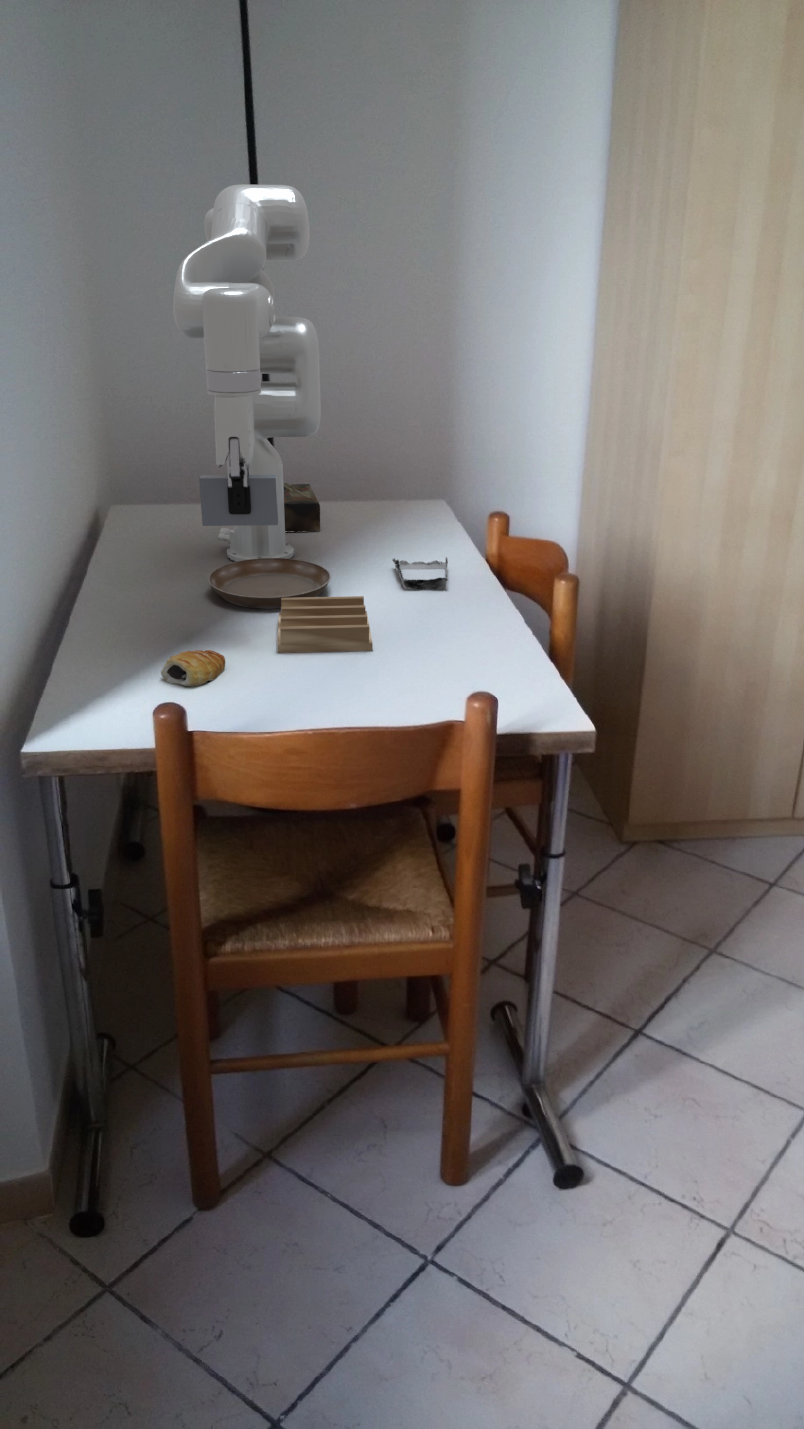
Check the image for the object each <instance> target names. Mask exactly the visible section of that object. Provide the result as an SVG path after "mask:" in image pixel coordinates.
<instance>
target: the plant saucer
mask: <svg viewBox="0 0 804 1429" xmlns="http://www.w3.org/2000/svg"><path fill="white" fill-rule="evenodd" d="M331 576H332V574H331V573H330V572H329V569H327V568H326V567H323V566H322V565H320V564H318V563H314V562H311V561H306V560H301V559H297V558H296V559H295V558H289V559H288V558H258V559H249V560H242V561H237V562H236V561H234V562H230V563H226V564H224V565H222V566H219V567H217V568H216V569H214V570H213V571H212V572H211V573H210V574H209V575H208V578H207V579H208V580H207V581H208V583H209V585H210V586H211V588H212V589H213V590H214V591H215V592H216V593H217V595H219V596H220V597H222V598H223V599H224V600H225V601H227V602H229V603H231V604H234V605H235V606H241V607H245V608H251V609H281V598H299V597H319V596H320V595H321V593H322V592H323V591H324V590H325V589H326V587H328V584H329V583H330V581H331V578H332V577H331Z"/></svg>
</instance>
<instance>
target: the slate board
mask: <svg viewBox="0 0 804 1429" xmlns="http://www.w3.org/2000/svg"><path fill="white" fill-rule="evenodd" d="M247 477H248V486H250V499H251V513H250V514H230V513H229V507H228V489H227V487H228V474H226V475H225V474H222V475H221V474H219V475H217V474H215V475H214V474H201V475H200V476H199V478H198V479H199V481H198V482H199V483H198V484H199V493H200V494H199V495H200V508H201V521H202V522H201V523H202V527H208V526H209V527H212V526H213V527H216V526H217V527H218V526H220V527H223V526H225V527H227V526H228V527H229V526H232V527H234V526H247V525H278V503H277V479H276V475H247Z"/></svg>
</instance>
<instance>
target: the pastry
mask: <svg viewBox="0 0 804 1429" xmlns="http://www.w3.org/2000/svg"><path fill="white" fill-rule="evenodd" d="M225 668H226V658H225V656H224V655H223V654H220V653H219V652H216V651H215V650H212V649H205V650H201V649H199V650H186V651H180V652H179V654H174V655H171V656H170V658H169V659H168V660H167V661H166V662H165V664H164V665H163V667H162V670H160V674H161V677H162V678H163V679H164V681H165V682H167V683H170V684H174V685H180V686H181V685H182V686H185V687H199V686H201V685H204V684H206V683H207V682H208V681H210V682H211V681H213V680H215V679H216V678H217V677H218V676H219V675H221V674H222V673H223V672H224V671H225Z"/></svg>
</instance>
